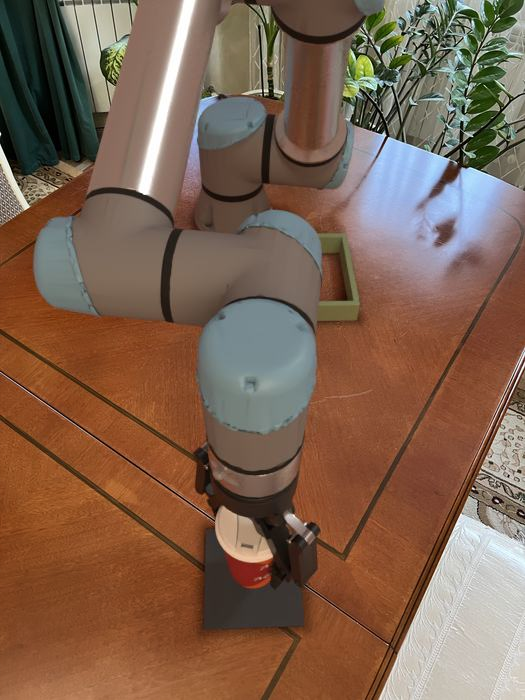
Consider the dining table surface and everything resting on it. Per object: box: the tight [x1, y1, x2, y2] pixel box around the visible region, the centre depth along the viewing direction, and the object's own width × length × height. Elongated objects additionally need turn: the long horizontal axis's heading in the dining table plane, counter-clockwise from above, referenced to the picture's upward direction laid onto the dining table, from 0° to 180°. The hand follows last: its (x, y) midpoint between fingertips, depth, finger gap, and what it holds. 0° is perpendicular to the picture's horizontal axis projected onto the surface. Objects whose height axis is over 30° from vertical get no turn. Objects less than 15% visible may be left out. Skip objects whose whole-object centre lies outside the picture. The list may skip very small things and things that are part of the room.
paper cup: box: [214, 505, 275, 588], centre depth 62 cm, size 8×8×14 cm
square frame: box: [317, 232, 361, 322], centre depth 102 cm, size 18×18×4 cm
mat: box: [202, 528, 305, 631], centre depth 72 cm, size 12×12×1 cm
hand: (253, 552), depth 65 cm, fingers closed on paper cup, 8 cm apart
